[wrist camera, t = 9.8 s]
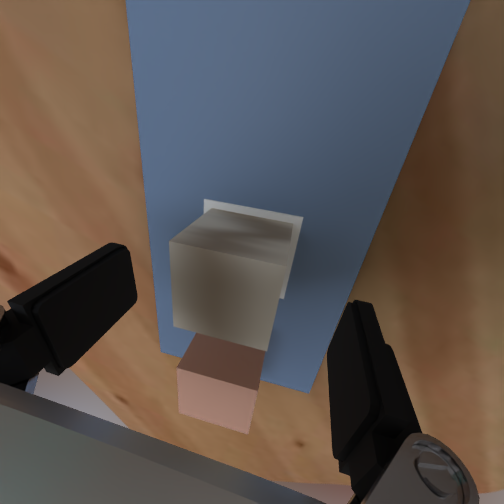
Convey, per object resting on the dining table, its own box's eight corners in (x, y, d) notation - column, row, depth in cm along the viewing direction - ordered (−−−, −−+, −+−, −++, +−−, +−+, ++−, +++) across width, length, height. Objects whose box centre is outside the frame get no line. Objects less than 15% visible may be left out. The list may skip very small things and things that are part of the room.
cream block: (293, 223, 13) (286, 266, 9) (277, 291, 16) (266, 351, 11) (211, 207, 14) (168, 241, 10) (208, 275, 16) (173, 326, 12)
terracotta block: (269, 327, 18) (257, 391, 13) (260, 368, 20) (248, 434, 16) (207, 311, 18) (176, 367, 14) (206, 353, 21) (179, 412, 16)
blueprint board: (466, -6, 9) (478, -17, 8) (308, 386, 21) (308, 394, 20) (131, -25, 10) (120, -35, 10) (164, 346, 22) (160, 352, 22)
